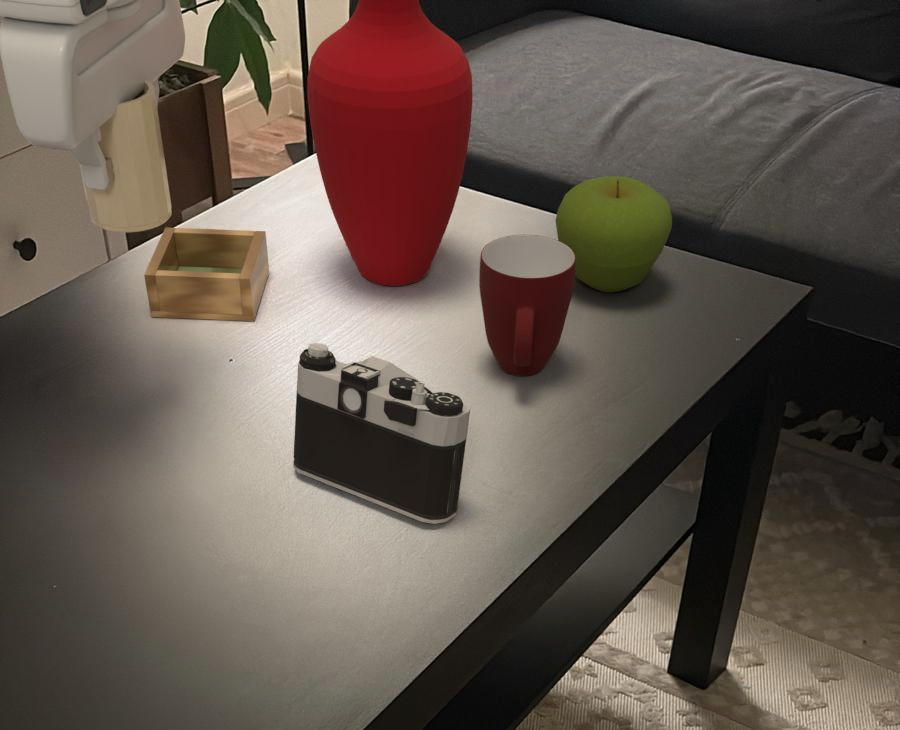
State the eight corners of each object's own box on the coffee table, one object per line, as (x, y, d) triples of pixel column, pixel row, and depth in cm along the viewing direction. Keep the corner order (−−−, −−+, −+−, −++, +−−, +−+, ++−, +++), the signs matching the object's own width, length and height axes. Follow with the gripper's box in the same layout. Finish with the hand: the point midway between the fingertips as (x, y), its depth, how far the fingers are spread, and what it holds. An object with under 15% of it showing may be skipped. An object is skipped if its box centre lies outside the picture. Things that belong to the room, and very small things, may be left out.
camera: (500, 487, 104) (519, 367, 98) (430, 532, 97) (445, 405, 91) (353, 432, 109) (362, 314, 103) (275, 471, 102) (279, 346, 96)
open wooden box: (151, 317, 120) (143, 274, 117) (171, 268, 126) (165, 227, 123) (254, 321, 119) (249, 278, 116) (269, 272, 126) (265, 231, 123)
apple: (533, 293, 124) (540, 188, 116) (580, 250, 130) (589, 148, 123) (635, 322, 120) (649, 215, 113) (679, 277, 127) (695, 173, 119)
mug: (575, 403, 111) (586, 292, 103) (483, 405, 110) (487, 294, 103) (560, 341, 118) (569, 233, 110) (472, 343, 117) (476, 234, 110)
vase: (350, 228, 132) (335, -120, 110) (487, 251, 130) (500, -102, 107) (295, 293, 123) (266, -74, 101) (441, 319, 120) (444, -53, 98)
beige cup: (81, 230, 97) (56, 103, 91) (101, 195, 101) (78, 71, 95) (162, 234, 97) (142, 107, 90) (179, 199, 101) (161, 75, 94)
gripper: (111, -94, 93) (142, 109, 104) (-33, -7, 80) (19, 216, 90) (191, -85, 92) (215, 118, 103) (59, 4, 79) (101, 228, 89)
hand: (122, 165), depth 96 cm, fingers closed on beige cup, 6 cm apart
